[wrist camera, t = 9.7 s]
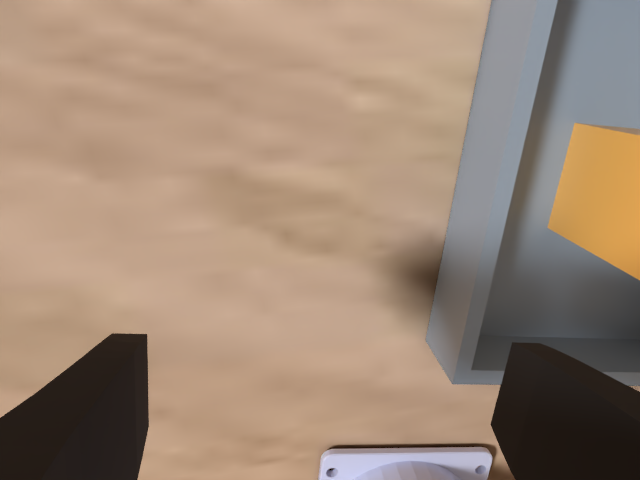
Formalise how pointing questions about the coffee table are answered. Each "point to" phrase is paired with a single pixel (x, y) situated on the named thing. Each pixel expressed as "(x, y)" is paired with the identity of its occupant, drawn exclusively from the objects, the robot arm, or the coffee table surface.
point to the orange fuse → (601, 194)
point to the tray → (537, 195)
